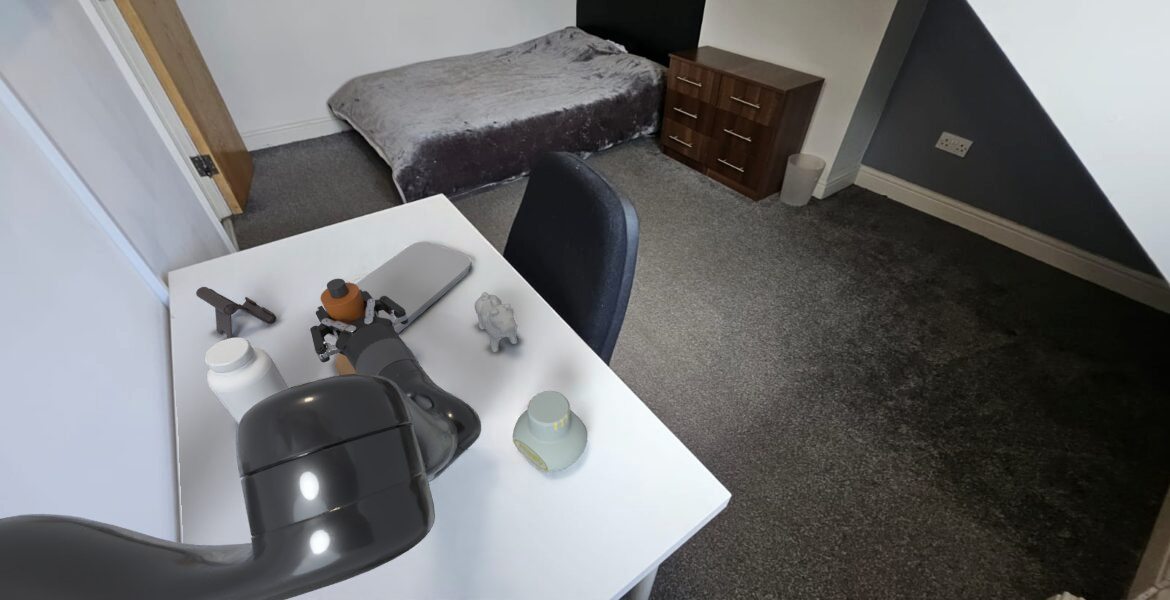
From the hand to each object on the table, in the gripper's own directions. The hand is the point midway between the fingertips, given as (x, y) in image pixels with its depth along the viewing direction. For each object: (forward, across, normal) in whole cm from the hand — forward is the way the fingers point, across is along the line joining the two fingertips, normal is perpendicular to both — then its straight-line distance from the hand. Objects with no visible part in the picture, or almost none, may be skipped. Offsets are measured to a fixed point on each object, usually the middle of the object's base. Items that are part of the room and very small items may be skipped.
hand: (341, 302), depth 77 cm
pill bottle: (-4, +16, +12) cm, 20 cm away
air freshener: (-37, -14, +12) cm, 42 cm away
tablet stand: (+21, +14, +12) cm, 28 cm away
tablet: (+11, -14, +12) cm, 21 cm away
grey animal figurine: (-13, -21, +12) cm, 28 cm away
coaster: (-2, 0, +12) cm, 12 cm away
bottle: (-2, 0, +6) cm, 7 cm away
